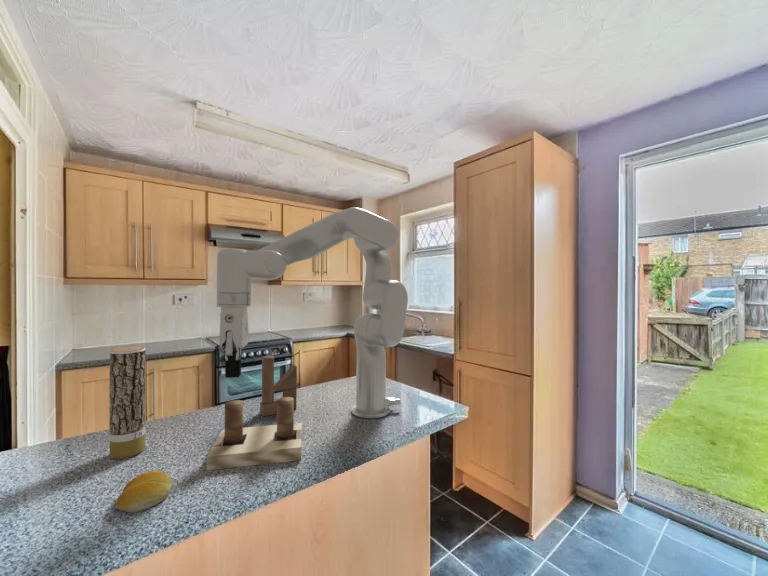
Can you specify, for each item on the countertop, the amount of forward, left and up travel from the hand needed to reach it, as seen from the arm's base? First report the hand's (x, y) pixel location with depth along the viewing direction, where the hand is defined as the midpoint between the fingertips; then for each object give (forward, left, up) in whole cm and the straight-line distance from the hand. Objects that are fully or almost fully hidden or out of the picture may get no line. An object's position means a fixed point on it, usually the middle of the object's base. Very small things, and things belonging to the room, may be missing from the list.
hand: (233, 376), depth 80 cm
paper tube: (+24, -5, -19) cm, 31 cm away
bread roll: (+13, +14, -19) cm, 27 cm away
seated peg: (-12, 0, -19) cm, 22 cm away
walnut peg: (0, 0, -19) cm, 19 cm away
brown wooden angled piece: (-9, -25, -19) cm, 32 cm away
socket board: (-6, 0, -19) cm, 20 cm away
